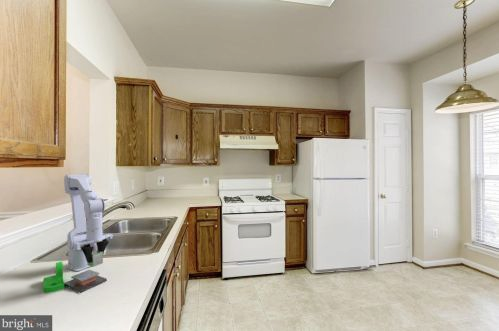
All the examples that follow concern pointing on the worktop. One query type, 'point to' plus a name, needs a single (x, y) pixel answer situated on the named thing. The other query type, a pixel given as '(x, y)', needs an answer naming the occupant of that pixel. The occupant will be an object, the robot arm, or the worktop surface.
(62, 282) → the mechanical part
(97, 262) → the green-striped metal cube
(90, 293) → the worktop surface
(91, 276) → the dark grey rectangular tray
